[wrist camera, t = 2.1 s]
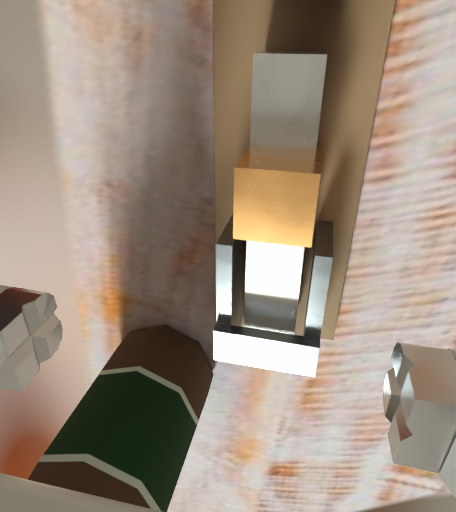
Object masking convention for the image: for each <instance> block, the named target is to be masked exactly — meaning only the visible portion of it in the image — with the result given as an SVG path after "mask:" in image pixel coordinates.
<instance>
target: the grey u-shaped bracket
mask: <svg viewBox="0 0 456 512" xmlns="http://www.w3.org/2000/svg"><path fill="white" fill-rule="evenodd" d="M246 244H247V240H239V239H233V214H232V216H231V218H230V220H229V221H228V223H227V225H226V227H225V228H224V230H223V232H222V234H221V236H220V237H219V239H218V241H217V243H216V325H215V327H214V330H213V360H218V361H224V362H229V363H235V364H241V365H246V366H252V367H258V368H264V369H269V370H275V371H281V372H286V373H292V374H298V375H304V376H309V377H315V374H316V368H317V362H318V355H319V349H320V336H321V330H322V324H323V317H324V311H325V305H326V299H327V292H328V286H329V280H330V274H331V267H332V261H333V222H332V221H322V220H318V222H317V230H316V237H315V245H314V252H313V260H312V268H311V275H310V283H309V291H308V298H307V306H306V313H305V321H304V331H303V336H299V335H293V334H287V333H280V332H274V331H267V330H261V329H255V328H248V327H242V326H241V323H242V320H243V317H244V302H245V273H246Z"/></svg>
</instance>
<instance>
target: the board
mask: <svg viewBox="0 0 456 512" xmlns="http://www.w3.org/2000/svg"><path fill="white" fill-rule="evenodd" d="M394 4H395V0H213V74H214V176H215V279H216V243H217V241H218V239H219V237H220V236H221V234H222V232H223V230H224V228H225V227H226V225H227V223H228V221H229V220H230V218H231V216H232V214H233V202H234V167H235V165H236V164H237V163H238V161H239V160H240V159H241V157H242V156H243V155H244V153H245V152H246V151H247V149H248V148H249V147H250V129H251V100H252V71H253V53H256V52H261V51H310V52H328V56H327V64H326V73H325V81H324V90H323V98H322V107H321V115H320V124H319V132H318V141H317V145H323V155H322V166H321V176H320V184H319V192H318V200H317V208H316V216H315V223H314V231H313V239H312V247H311V248H310V247H305V251H304V259H303V268H302V276H301V285H300V293H299V302H298V310H297V318H296V326H295V334H298V335H303V331H304V321H305V313H306V306H307V298H308V291H309V283H310V275H311V268H312V260H313V252H314V245H315V237H316V230H317V222H318V220H322V221H332V222H333V261H332V267H331V274H330V280H329V286H328V292H327V299H326V305H325V311H324V317H323V324H322V330H321V336H320V338H324V339H330V340H333V339H334V333H335V328H336V322H337V317H338V311H339V306H340V300H341V295H342V290H343V284H344V279H345V273H346V268H347V262H348V257H349V251H350V246H351V240H352V235H353V229H354V224H355V218H356V213H357V207H358V202H359V196H360V191H361V185H362V180H363V174H364V169H365V163H366V158H367V152H368V147H369V141H370V136H371V130H372V125H373V119H374V114H375V108H376V103H377V97H378V92H379V87H380V81H381V76H382V70H383V65H384V59H385V54H386V48H387V43H388V37H389V32H390V26H391V21H392V15H393V10H394ZM241 326H244V317H243V320H242V323H241Z"/></svg>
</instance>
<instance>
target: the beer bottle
mask: <svg viewBox="0 0 456 512" xmlns="http://www.w3.org/2000/svg"><path fill="white" fill-rule="evenodd" d="M212 377H213V372H212V369H211V367H210V365H209V363H208V361H207V359H206V357H205V354H204V352H203V350H202V348H201V346H200V344H199V342H197V341H195V340H193V339H191V338H189V337H187V336H185V335H183V334H181V333H180V332H178V331H176V330H174V329H172V328H170V327H168V326H166V325H164V326H157V327H151V328H144V329H138V330H133V331H131V332H130V333H129V334H128V335H127V336H126V338H125V339H124V340H123V341H122V343H121V344H120V345H119V346H118V348H117V349H116V351H115V352H114V353H113V355H112V356H111V358H110V359H109V361H108V362H107V364H106V365H105V366H104V368H103V369H102V371H101V372H100V374H99V375H98V377H97V378H96V379H95V381H94V382H93V384H92V385H91V387H90V388H89V390H88V391H87V392H86V394H85V395H84V397H83V398H82V400H81V401H80V403H79V404H78V405H77V407H76V408H75V410H74V411H73V413H72V414H71V416H70V417H69V418H68V420H67V421H66V423H65V424H64V426H63V427H62V429H61V430H60V431H59V433H58V434H57V436H56V437H55V439H54V440H53V442H52V443H51V444H50V446H49V447H48V449H47V450H46V452H45V453H44V455H43V456H42V458H41V459H40V461H39V462H38V463H37V465H36V467H35V469H34V470H33V472H32V474H31V475H30V477H29V479H28V480H31V481H35V482H39V483H44V484H48V485H52V486H56V487H61V488H65V489H69V490H73V491H77V492H82V493H86V494H90V495H94V496H99V497H103V498H107V499H111V500H116V501H120V502H124V503H128V504H133V505H137V506H141V507H145V508H149V509H154V510H158V511H162V512H167V509H168V507H169V504H170V501H171V498H172V495H173V492H174V489H175V487H176V484H177V481H178V478H179V475H180V472H181V469H182V467H183V464H184V461H185V458H186V455H187V452H188V449H189V447H190V444H191V441H192V438H193V435H194V432H195V429H196V427H197V424H198V421H199V418H200V415H201V412H202V409H203V407H204V404H205V401H206V398H207V395H208V392H209V388H210V385H211V381H212Z"/></svg>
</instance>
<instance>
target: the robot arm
mask: <svg viewBox="0 0 456 512" xmlns="http://www.w3.org/2000/svg"><path fill="white" fill-rule="evenodd" d="M56 308H57V306H56V302H55V299H54V296H53V295H51V294H49V293H46V292H40V291H34V290H28V289H22V288H16V287H8V286H3V285H0V388H3V389H10V390H16V391H23V390H24V388H25V387H26V386H27V385H28V384H29V383H30V382H31V380H32V379H33V378H34V376H36V374H37V373H38V372H39V371H40V363H41V362H43V361H45V360H47V359H49V358H51V357H52V356H53V354H54V353H55V352H56V351H57V349H58V347H59V345H60V342H61V339H62V326H61V321H60V320H59V319H58V318H57V317H56V316H55V315H54V311H55V310H56ZM392 361H393V366H394V368H392V369H391V370H389V371H388V372H387V374H386V378H385V383H384V392H383V404H384V412H385V416H386V417H387V418H388V420H389V421H390V422H391V426H390V429H389V433H388V436H389V442H390V448H391V453H392V459H393V463H394V464H399V465H404V466H408V467H413V468H417V469H422V470H426V471H431V472H435V473H439V477H440V478H441V479H442V481H443V482H444V483H445V485H446V486H447V487H448V489H449V490H450V491H451V492H452V494H453V495H454V496H455V498H456V350H455V349H442V348H435V347H427V346H420V345H413V344H405V343H398V342H397V344H396V345H395V347H394V350H393V353H392ZM0 512H162V511H158V510H154V509H149V508H145V507H141V506H137V505H133V504H128V503H124V502H120V501H116V500H111V499H107V498H103V497H99V496H94V495H90V494H86V493H82V492H77V491H73V490H69V489H65V488H61V487H56V486H52V485H48V484H44V483H39V482H35V481H31V480H27V479H22V478H18V477H14V476H10V475H6V474H1V473H0Z"/></svg>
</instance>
